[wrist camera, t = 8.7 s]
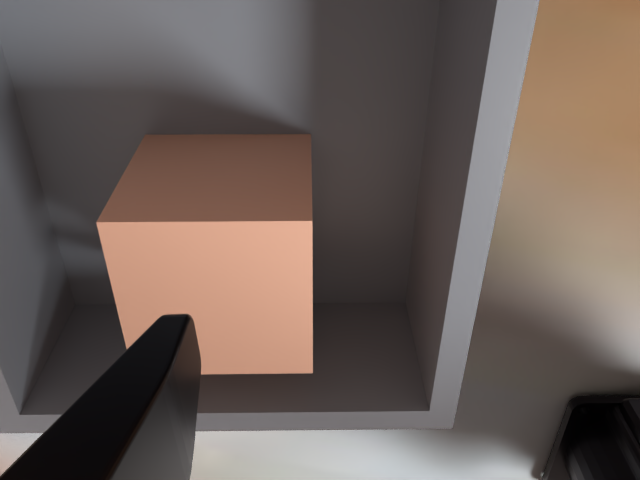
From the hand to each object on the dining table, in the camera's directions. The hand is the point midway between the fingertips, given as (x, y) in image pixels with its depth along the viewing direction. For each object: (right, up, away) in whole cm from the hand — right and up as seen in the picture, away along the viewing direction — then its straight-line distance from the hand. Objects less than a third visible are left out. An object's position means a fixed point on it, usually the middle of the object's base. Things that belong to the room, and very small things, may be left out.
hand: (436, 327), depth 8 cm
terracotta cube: (-4, +2, +11) cm, 12 cm away
